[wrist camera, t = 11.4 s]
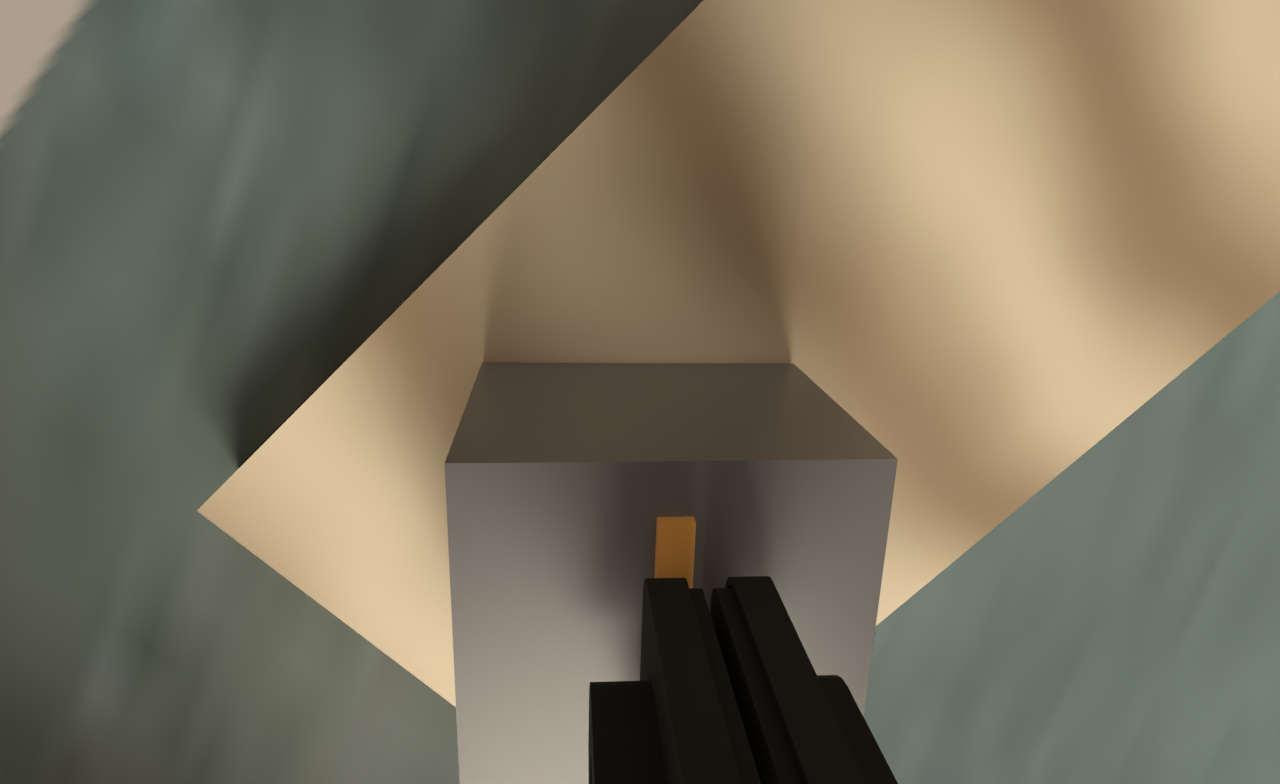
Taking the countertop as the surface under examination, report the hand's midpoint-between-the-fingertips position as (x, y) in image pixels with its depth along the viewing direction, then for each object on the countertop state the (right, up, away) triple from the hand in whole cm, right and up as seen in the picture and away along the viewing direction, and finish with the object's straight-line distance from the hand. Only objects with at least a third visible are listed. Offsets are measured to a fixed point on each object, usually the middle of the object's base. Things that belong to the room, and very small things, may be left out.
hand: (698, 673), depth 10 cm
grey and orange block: (-1, +1, +5) cm, 6 cm away
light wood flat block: (+3, +6, +7) cm, 10 cm away
